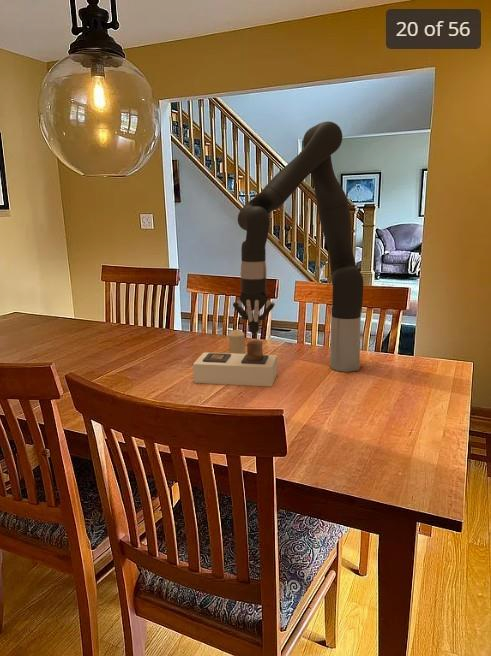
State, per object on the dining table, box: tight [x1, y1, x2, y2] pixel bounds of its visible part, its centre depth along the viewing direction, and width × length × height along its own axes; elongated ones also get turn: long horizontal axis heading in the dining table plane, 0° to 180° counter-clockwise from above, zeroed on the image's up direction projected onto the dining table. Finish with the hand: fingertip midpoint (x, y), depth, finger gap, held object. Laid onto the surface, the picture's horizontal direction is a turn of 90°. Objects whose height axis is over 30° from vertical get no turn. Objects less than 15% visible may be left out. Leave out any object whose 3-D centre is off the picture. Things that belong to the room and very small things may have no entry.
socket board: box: [192, 352, 278, 387], centre depth 153 cm, size 24×12×7 cm, turn 79°
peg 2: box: [246, 339, 264, 361], centre depth 150 cm, size 4×4×7 cm
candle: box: [228, 329, 246, 354], centre depth 172 cm, size 6×6×10 cm
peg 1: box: [210, 355, 225, 359], centre depth 154 cm, size 4×4×7 cm
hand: (254, 333), depth 149 cm, fingers closed
